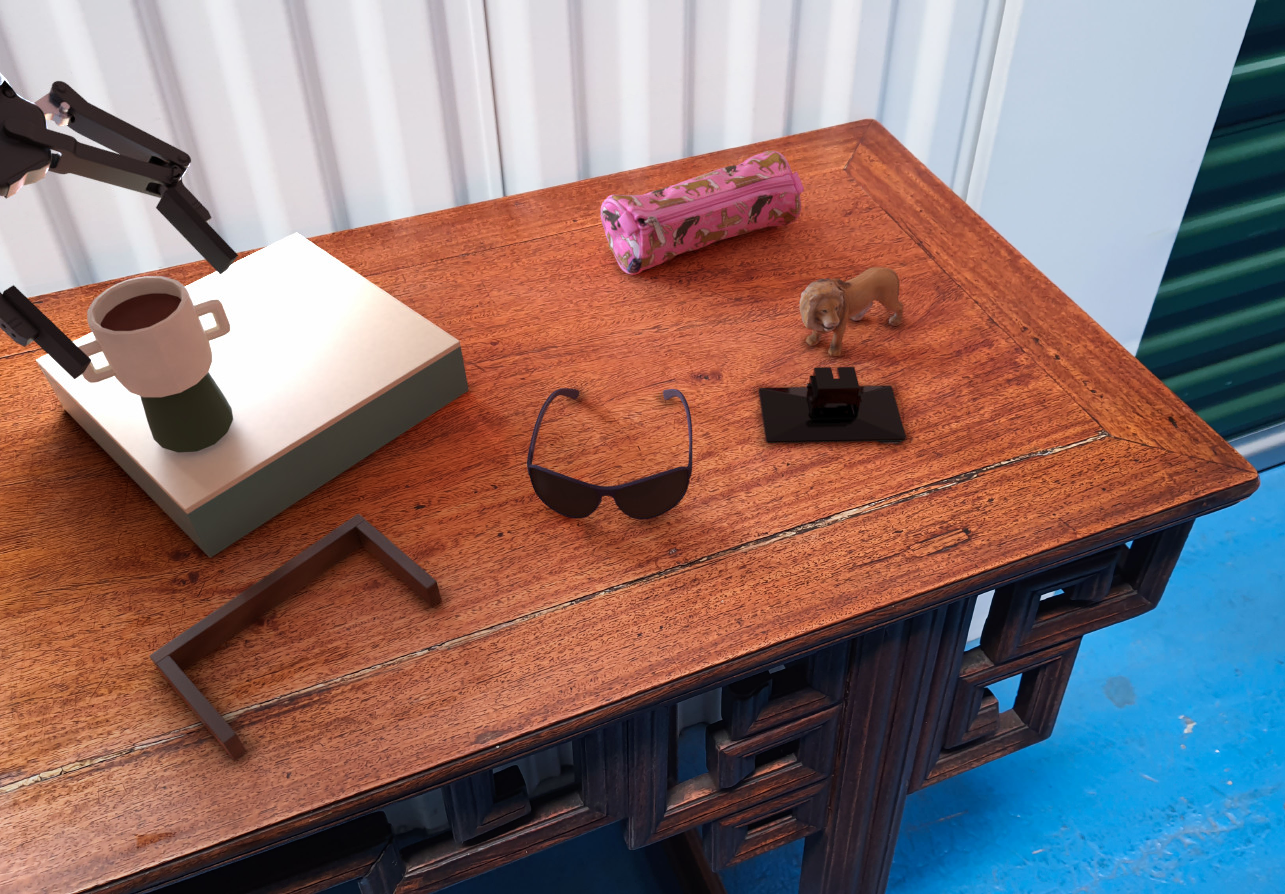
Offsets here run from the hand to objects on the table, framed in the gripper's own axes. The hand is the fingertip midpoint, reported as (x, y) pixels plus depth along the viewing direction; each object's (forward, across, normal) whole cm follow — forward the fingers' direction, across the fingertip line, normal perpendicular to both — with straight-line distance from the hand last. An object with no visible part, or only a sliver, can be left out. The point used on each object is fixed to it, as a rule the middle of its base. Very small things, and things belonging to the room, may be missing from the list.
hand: (161, 315), depth 71 cm
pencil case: (+27, -51, 0) cm, 58 cm away
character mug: (+8, 0, -11) cm, 13 cm away
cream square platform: (+9, -10, -18) cm, 22 cm away
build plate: (+43, -32, +16) cm, 56 cm away
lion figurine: (+41, -43, +14) cm, 61 cm away
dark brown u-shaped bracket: (+24, +9, -2) cm, 26 cm away
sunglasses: (+32, -18, +5) cm, 37 cm away
